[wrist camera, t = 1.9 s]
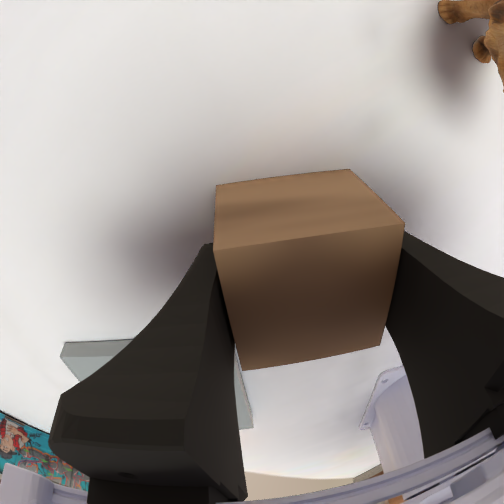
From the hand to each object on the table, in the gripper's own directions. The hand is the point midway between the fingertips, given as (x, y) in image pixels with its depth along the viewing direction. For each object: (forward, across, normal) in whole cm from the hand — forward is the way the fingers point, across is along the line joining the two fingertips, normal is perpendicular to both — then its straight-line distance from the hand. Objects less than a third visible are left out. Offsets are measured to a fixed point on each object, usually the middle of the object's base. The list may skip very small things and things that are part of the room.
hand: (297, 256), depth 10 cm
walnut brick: (+2, 0, 0) cm, 2 cm away
